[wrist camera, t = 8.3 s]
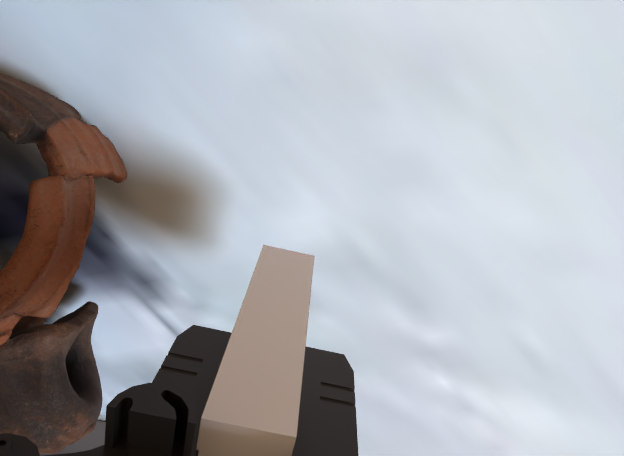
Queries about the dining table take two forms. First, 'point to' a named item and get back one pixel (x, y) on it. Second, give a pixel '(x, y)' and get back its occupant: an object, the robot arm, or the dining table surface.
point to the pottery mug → (51, 274)
